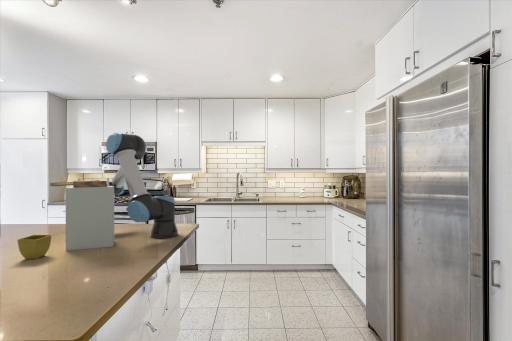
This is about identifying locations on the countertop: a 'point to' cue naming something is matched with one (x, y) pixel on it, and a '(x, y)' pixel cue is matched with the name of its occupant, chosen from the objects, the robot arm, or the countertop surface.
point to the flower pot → (34, 246)
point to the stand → (89, 217)
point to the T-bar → (89, 183)
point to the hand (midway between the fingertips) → (93, 180)
